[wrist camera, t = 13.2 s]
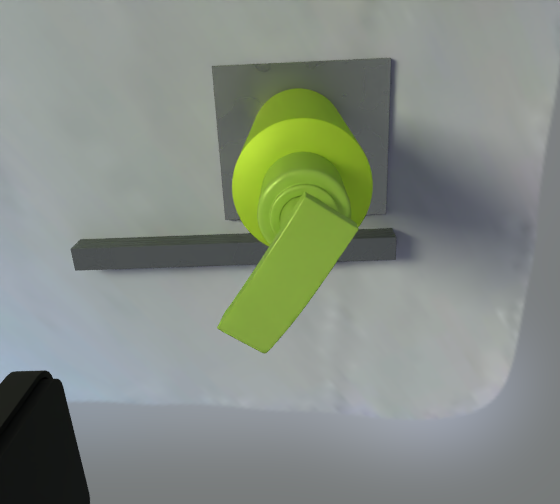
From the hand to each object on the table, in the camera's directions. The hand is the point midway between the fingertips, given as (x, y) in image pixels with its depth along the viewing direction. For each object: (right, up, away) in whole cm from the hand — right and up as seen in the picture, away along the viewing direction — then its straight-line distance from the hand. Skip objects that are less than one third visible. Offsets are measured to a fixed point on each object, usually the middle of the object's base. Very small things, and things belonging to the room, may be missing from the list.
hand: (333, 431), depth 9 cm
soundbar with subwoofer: (-4, +9, +26) cm, 28 cm away
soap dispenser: (0, +10, +25) cm, 27 cm away
